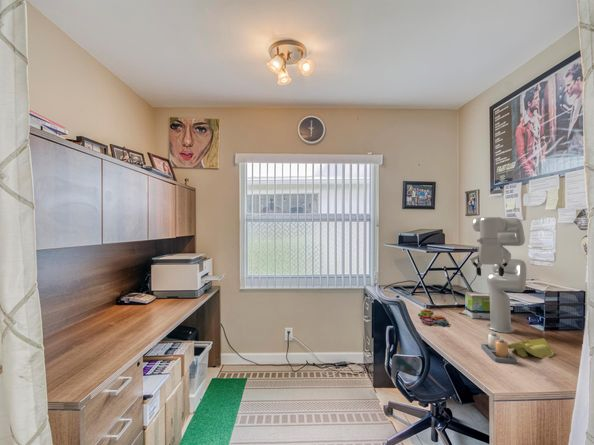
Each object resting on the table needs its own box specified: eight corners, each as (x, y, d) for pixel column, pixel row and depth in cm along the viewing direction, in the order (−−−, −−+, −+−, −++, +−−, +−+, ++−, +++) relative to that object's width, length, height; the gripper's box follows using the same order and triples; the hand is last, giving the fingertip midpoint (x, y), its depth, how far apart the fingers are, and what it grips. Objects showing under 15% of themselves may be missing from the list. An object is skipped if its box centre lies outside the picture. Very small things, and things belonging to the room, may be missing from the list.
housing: (480, 348, 138) (480, 343, 138) (501, 350, 136) (501, 345, 136) (493, 363, 123) (493, 357, 123) (518, 366, 121) (518, 360, 121)
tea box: (472, 318, 184) (471, 295, 184) (465, 314, 194) (464, 291, 194) (497, 319, 182) (497, 295, 183) (489, 314, 192) (488, 292, 193)
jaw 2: (487, 348, 136) (486, 331, 136) (497, 349, 135) (497, 332, 135) (490, 352, 132) (490, 335, 132) (501, 353, 131) (501, 335, 131)
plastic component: (524, 341, 142) (547, 337, 134) (532, 357, 138) (555, 355, 131) (501, 345, 133) (523, 342, 125) (508, 363, 129) (532, 361, 122)
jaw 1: (498, 360, 124) (497, 341, 125) (494, 355, 128) (493, 337, 129) (510, 361, 123) (509, 342, 123) (506, 356, 127) (505, 338, 127)
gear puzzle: (415, 311, 203) (414, 305, 203) (440, 313, 199) (440, 307, 199) (422, 326, 173) (422, 319, 173) (452, 328, 169) (452, 321, 169)
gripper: (472, 242, 146) (473, 276, 145) (512, 242, 141) (513, 277, 141) (467, 241, 153) (468, 274, 153) (505, 241, 149) (506, 275, 148)
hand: (490, 275), depth 147 cm, fingers open, 9 cm apart
